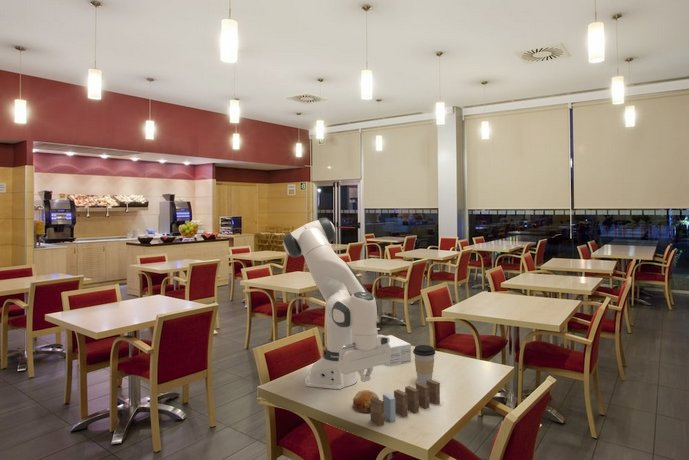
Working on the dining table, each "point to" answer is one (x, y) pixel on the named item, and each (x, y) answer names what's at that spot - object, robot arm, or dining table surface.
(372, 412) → the domino
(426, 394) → the domino
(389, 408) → the domino
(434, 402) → the domino
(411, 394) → the domino
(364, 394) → the bread roll
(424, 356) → the coffee cup
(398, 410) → the domino
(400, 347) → the supplement box
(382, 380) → the dining table surface
